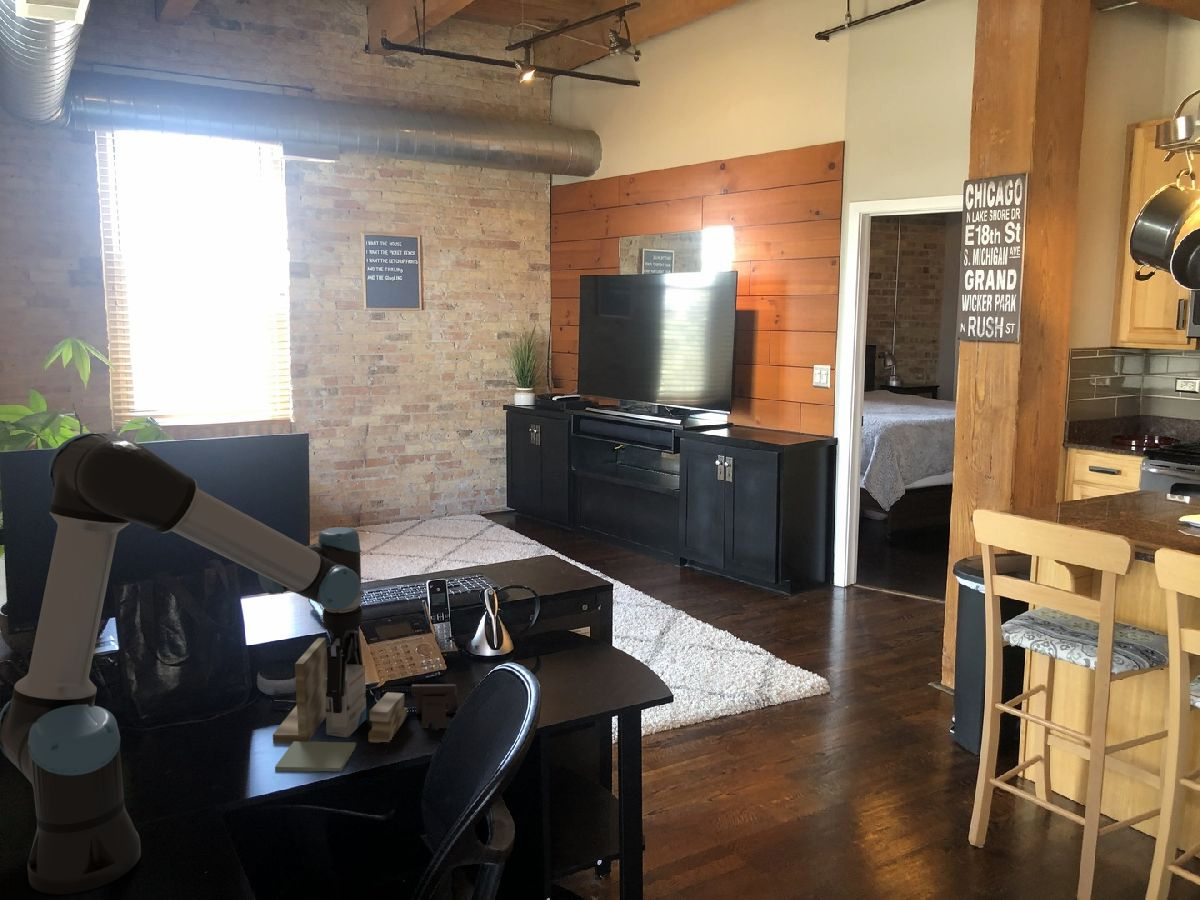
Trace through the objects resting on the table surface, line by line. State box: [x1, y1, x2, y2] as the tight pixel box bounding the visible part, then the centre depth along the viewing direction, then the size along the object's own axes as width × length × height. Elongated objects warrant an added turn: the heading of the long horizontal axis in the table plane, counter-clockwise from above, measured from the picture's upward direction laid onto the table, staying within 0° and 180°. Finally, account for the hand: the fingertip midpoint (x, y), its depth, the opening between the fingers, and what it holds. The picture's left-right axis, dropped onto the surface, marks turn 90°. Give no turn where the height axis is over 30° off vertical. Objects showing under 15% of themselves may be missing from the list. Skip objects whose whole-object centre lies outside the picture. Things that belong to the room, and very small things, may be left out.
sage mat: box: [274, 741, 357, 773], centre depth 182 cm, size 10×12×1 cm
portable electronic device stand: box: [410, 683, 460, 729], centre depth 198 cm, size 9×8×8 cm
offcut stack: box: [368, 691, 408, 743], centre depth 194 cm, size 12×4×6 cm, turn 174°
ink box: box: [325, 664, 367, 738], centre depth 194 cm, size 9×5×12 cm, turn 168°
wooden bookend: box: [272, 637, 328, 744], centre depth 194 cm, size 14×7×16 cm, turn 178°
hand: (346, 715), depth 194 cm, fingers closed on ink box, 9 cm apart
